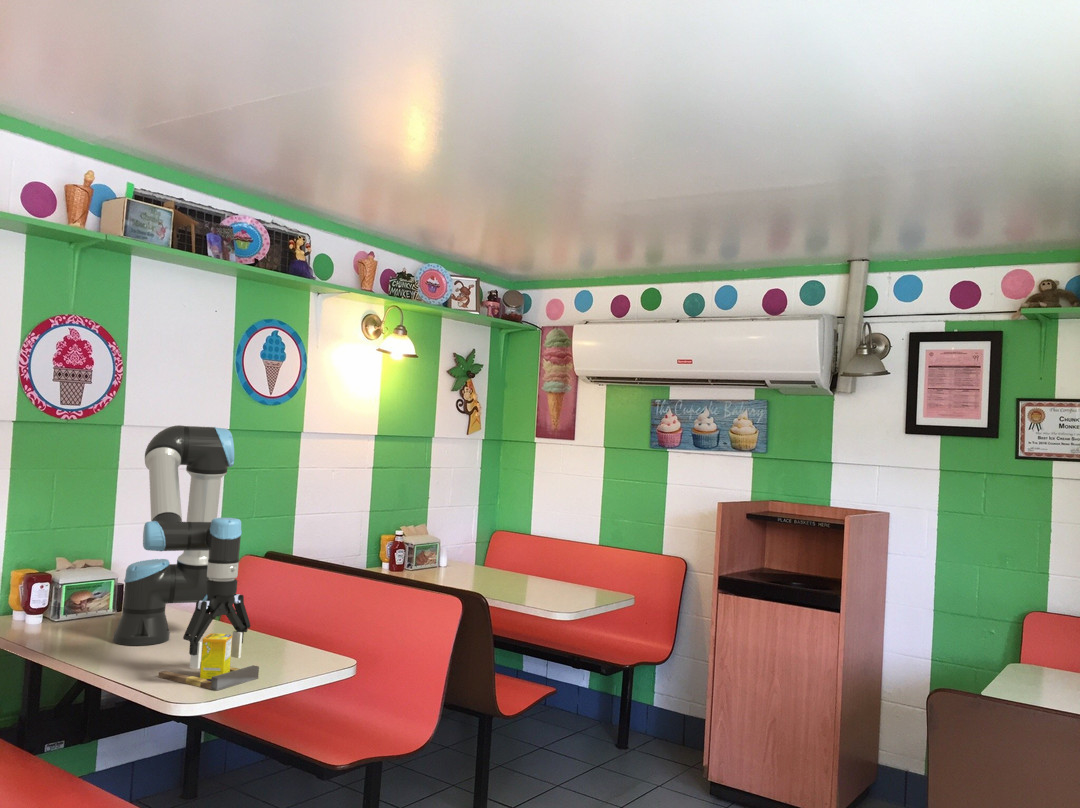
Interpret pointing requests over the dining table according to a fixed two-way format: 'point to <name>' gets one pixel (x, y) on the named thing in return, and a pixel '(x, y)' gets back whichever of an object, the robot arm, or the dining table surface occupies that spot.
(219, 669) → the supplement box
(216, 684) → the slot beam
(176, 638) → the dining table surface
